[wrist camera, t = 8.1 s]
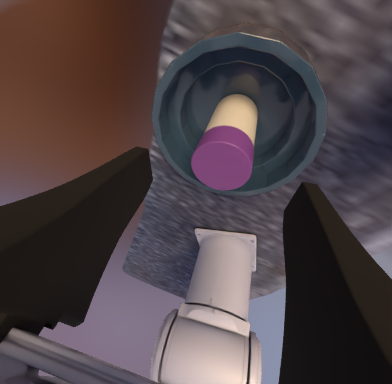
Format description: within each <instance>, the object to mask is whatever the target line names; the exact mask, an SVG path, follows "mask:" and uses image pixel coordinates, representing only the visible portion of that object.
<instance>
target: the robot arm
mask: <svg viewBox="0 0 392 384" xmlns="http://www.w3.org/2000/svg"><path fill="white" fill-rule="evenodd" d="M152 181H153V177H152V170H151V164H150V157H149V151H148V149H146V148H141V147H135V148H133V149H131V150H129V151H127V152H125V153H123V154H122V155H120V156H118V157H117V158H115V159H113V160H111V161H109V162H107V163H105V164H104V165H102V166H100V167H98V168H96V169H94V170H92V171H90V172H88V173H86V174H84V175H82V176H80V177H78V178H76V179H74V180H72V181H70V182H67V183H65V184H63V185H60V186H58V187H55V188H53V189H50V190H48V191H45V192H43V193H39V194H37V195H34V196H31V197H28V198H25V199H22V200H19V201H16V202H13V203H10V204H6V205H3V206H0V384H261V372H262V356H261V345H260V341H259V340H258V338H257V337H256V334H255V333H254V332H251V331H249V330H250V323H249V322H247V321H248V308H249V296H250V283H251V271H256V236H255V235H253V234H244V233H235V232H226V231H217V230H209V229H200V228H196V229H195V231H194V232H195V235H196V238H197V241H198V243H199V246H200V250H199V254H198V257H197V261H196V264H195V268H194V271H193V275H192V279H191V282H190V286H189V289H188V293H187V296H186V300H185V303H180V307H179V310H178V309H174V310H173V311H172V312H171V313H169V314H168V315H167V316H166V318H165V319H164V322H163V323H162V326H161V328H160V330H159V333H158V336H157V339H156V342H155V346H154V350H153V354H152V360H151V374H150V379H148V378H145V377H142V376H140V375H137V374H135V373H132V372H130V371H127V370H125V369H122V368H120V367H117V366H114V365H112V364H110V363H107V362H104V361H102V360H99V359H97V358H94V357H92V356H89V355H87V354H84V353H81V352H79V351H77V350H74V349H71V348H69V347H66V346H64V345H61V344H59V343H56V342H54V341H51V340H49V339H46V338H44V337H41V336H39V333H40V332H41V330H42V329H43V327H47V328H49V329H52V330H53V329H54V328H55V326H56V325H57V323H58V322H61V323H64V324H67V325H70V326H72V327H76V326H78V325H80V324H81V323H83V322H84V319H85V317H86V314H87V311H88V309H89V306H90V303H91V301H92V298H93V296H94V293H95V291H96V288H97V286H98V284H99V281H100V279H101V277H102V274H103V272H104V270H105V268H106V265H107V263H108V261H109V259H110V257H111V254H112V253H113V250H114V249H115V247H116V244H117V242H118V240H119V238H120V237H121V235H122V233H123V231H124V230H125V228H126V227H127V225H128V223H129V222H130V220H131V219H132V217H133V215H134V214H135V212H136V211H137V209H138V208H139V206H140V204H141V203H142V201H143V200H144V198H145V196H146V194H147V192H148V190H149V188H150V185H151V183H152ZM283 243H284V257H285V271H286V303H285V322H284V336H283V348H282V359H281V367H280V376H279V384H392V279H391V278H390V277H389V276H388V275H387V274H386V273H385V271H384V270H383V269H382V268H381V267H380V266H379V265H378V264H377V263H376V262H375V260H374V259H373V258H372V257H371V256H370V255H369V253H368V252H367V251H366V250H365V249H364V247H363V246H362V245H361V244H360V242H359V241H358V240H357V239H356V237H355V236H354V235H353V234H352V232H351V231H350V230H349V228H348V227H347V226H346V224H345V223H344V222H343V220H342V219H341V218H340V216H339V215H338V213H337V212H336V211H335V209H334V208H333V206H332V205H331V203H330V202H329V201H328V199H327V198H326V196H325V195H324V193H323V192H322V191H321V189H320V188H319V187H318V185H316V184H311V183H306V182H302V183H301V185H300V186H299V188H298V189H297V191H296V193H295V194H294V196H293V197H292V199H291V201H290V202H289V204H288V205H287V207H286V208H285V210H284V219H283ZM39 370H41V371H44V372H46V373H48V374H51V375H53V376H56V377H58V378H56V377H49V376H39V375H38V372H39Z"/></svg>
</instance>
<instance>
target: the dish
mask: <svg viewBox="0 0 392 384" xmlns="http://www.w3.org/2000/svg"><path fill="white" fill-rule="evenodd" d="M232 94H241V95H245V96H247V97H249V98H250V99H251V100H252V101H253V102H254V103H255V105H256V107H257V111H258V118H257V126H256V134H255V142H254V158H253V167H252V173H251V176H250V178H249V179H248V181H247V182H246V183H245V184H244V185H242V186H241V187H238V188H236V189H232V190H218V189H214V188H211V187H209V186H206V185H205V184H203V183H202V182H201V181H200V180H199V179H198V178H197V177H196V176H195V174H194V172H193V170H192V166H191V158H192V155H193V153H194V151H195V149H196V147H197V145H198V143H199V141H200V139H201V137H202V135H203V134H204V132H205V130H206V128H207V126H208V124H209V122H210V119H211V117H212V115H213V113H214V111H215V109H216V107H217V105H218V103H219V102H220V101H221V100H222V99H223V98H225V97H226V96H229V95H232ZM327 106H328V101H327V98H326V95H325V93H324V91H323V88H322V86H321V84H320V82H319V79H318V77H317V75H316V72H315V70H314V68H313V66H312V64H311V61H310V59H309V57H308V55H307V53H306V52H305V50H303V49H302V48H301V47H300V46H299V45H297V44H296V43H295V42H294V41H293V40H291V39H290V38H289V37H288V36H287V35H285V34H284V33H283V32H282V31H279V30H278V29H273V28H269V27H264V26H260V25H255V24H251V23H242V24H238V25H234V26H229V27H225V28H221V29H216V30H214V31H212V32H210V33H209V34H208V35H206V36H205V37H204V38H202V39H201V40H200V41H198V42H197V43H196V44H194V45H193V46H192V47H190V48H189V49H188V50H186V51H185V52H184V53H182V54H181V55H180V56H178V57H177V58H176V59H174V60H173V61H172V62H171V63H170V65H169V67H168V68H167V70H166V72H165V74H164V75H163V77H162V79H161V80H160V82H159V84H158V86H157V87H156V90H155V95H154V102H153V109H152V123H153V128H154V133H155V137H156V142H157V144H158V146H159V147H160V149H161V151H162V153H163V155H164V156H165V158H166V160H167V162H168V163H169V164H170V165H171V166H172V167H173V168H174V169H175V170H176V171H177V172H178V173H179V174H180V175H181V176H182V177H183V178H185V179H186V180H188V181H190V182H192V183H193V184H195V185H197V186H198V187H200V188H202V189H205V190H208V191H211V192H215V193H218V194H221V195H229V196H251V195H256V194H261V193H266V192H269V191H272V190H274V189H276V188H278V187H280V186H282V185H284V184H286V183H288V182H290V181H292V180H294V179H295V178H296V177H297V176H298V175H299V174H300V173H301V172H302V171H303V170H304V169H305V168H306V167H307V166H308V165H309V164H310V163H311V162H312V161H313V160H314V158H315V156H316V154H317V152H318V150H319V148H320V146H321V143H322V141H323V139H324V137H325V135H326V126H327Z"/></svg>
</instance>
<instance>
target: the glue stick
mask: <svg viewBox="0 0 392 384" xmlns="http://www.w3.org/2000/svg"><path fill="white" fill-rule="evenodd" d="M257 118H258V111H257V107H256V105H255V103H254V102H253V101H252V100H251V99H250V98H249V97H247V96H245V95H241V94H232V95H229V96H226V97H225V98H223V99H222V100H221V101H220V102H219V103H218V105H217V107H216V109H215V111H214V113H213V115H212V117H211V119H210V122H209V124H208V126H207V128H206V130H205V132H204V134H203V135H202V137H201V139H200V141H199V143H198V145H197V147H196V149H195V151H194V153H193V155H192V158H191V166H192V170H193V172H194V174H195V176H196V177H197V178H198V179H199V180H200V181H201V182H202V183H203V184H205V185H206V186H209V187H211V188H214V189H218V190H232V189H236V188H238V187H241V186H242V185H244V184H245V183H246V182H247V181H248V179H249V178H250V176H251V173H252V167H253V158H254V142H255V134H256V126H257Z"/></svg>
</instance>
